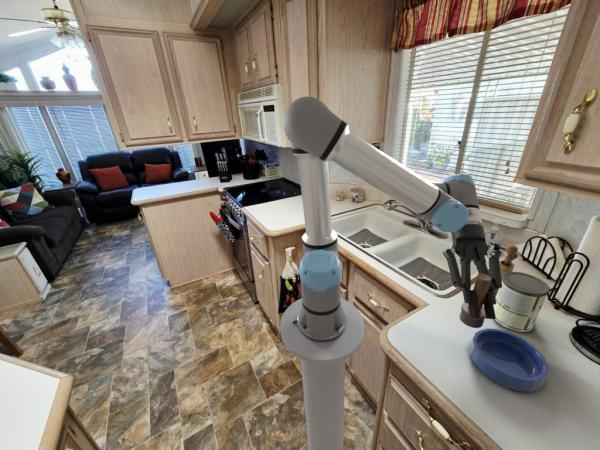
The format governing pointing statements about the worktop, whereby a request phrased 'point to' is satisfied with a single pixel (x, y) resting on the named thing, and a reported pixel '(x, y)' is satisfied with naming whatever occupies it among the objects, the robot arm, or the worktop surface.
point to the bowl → (508, 360)
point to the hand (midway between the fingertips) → (483, 318)
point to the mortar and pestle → (507, 261)
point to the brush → (480, 291)
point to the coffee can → (519, 300)
